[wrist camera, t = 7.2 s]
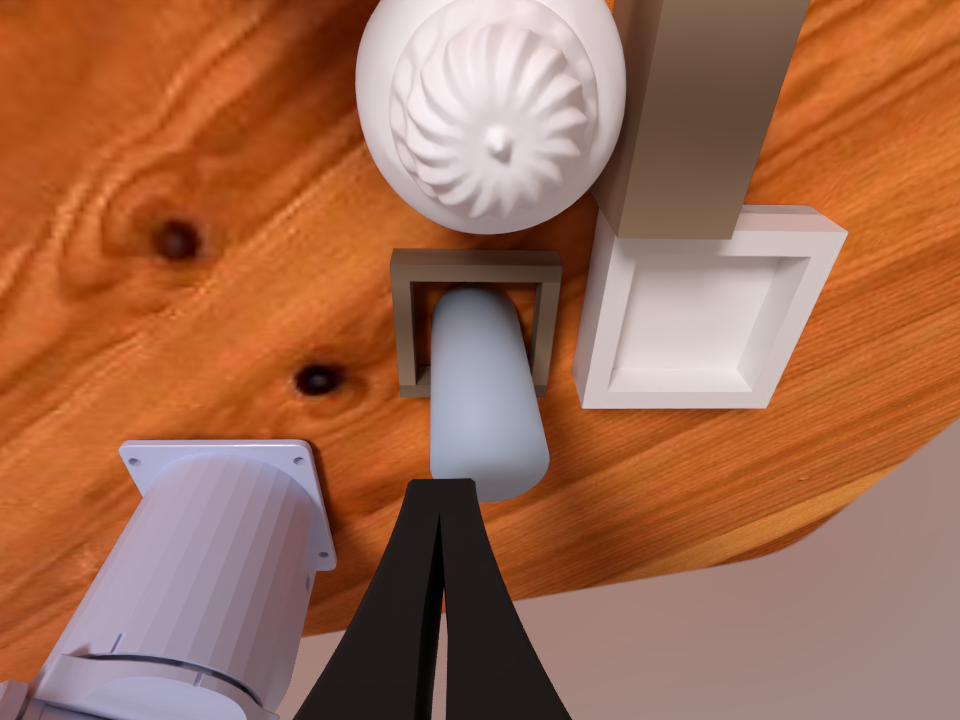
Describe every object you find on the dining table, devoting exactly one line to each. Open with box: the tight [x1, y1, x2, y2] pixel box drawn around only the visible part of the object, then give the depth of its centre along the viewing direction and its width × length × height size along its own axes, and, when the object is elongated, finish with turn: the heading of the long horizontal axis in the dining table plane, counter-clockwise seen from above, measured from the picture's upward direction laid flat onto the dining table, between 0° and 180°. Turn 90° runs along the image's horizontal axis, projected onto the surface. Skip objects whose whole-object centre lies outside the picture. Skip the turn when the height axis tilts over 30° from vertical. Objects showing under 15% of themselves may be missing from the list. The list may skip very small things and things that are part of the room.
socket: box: [390, 249, 563, 397], centre depth 19 cm, size 6×6×1 cm
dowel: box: [430, 282, 550, 502], centre depth 17 cm, size 3×3×7 cm
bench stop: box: [589, 0, 810, 240], centre depth 13 cm, size 6×3×4 cm, turn 178°
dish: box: [572, 205, 848, 409], centre depth 18 cm, size 7×7×2 cm
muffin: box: [355, 0, 626, 234], centre depth 12 cm, size 6×6×7 cm
